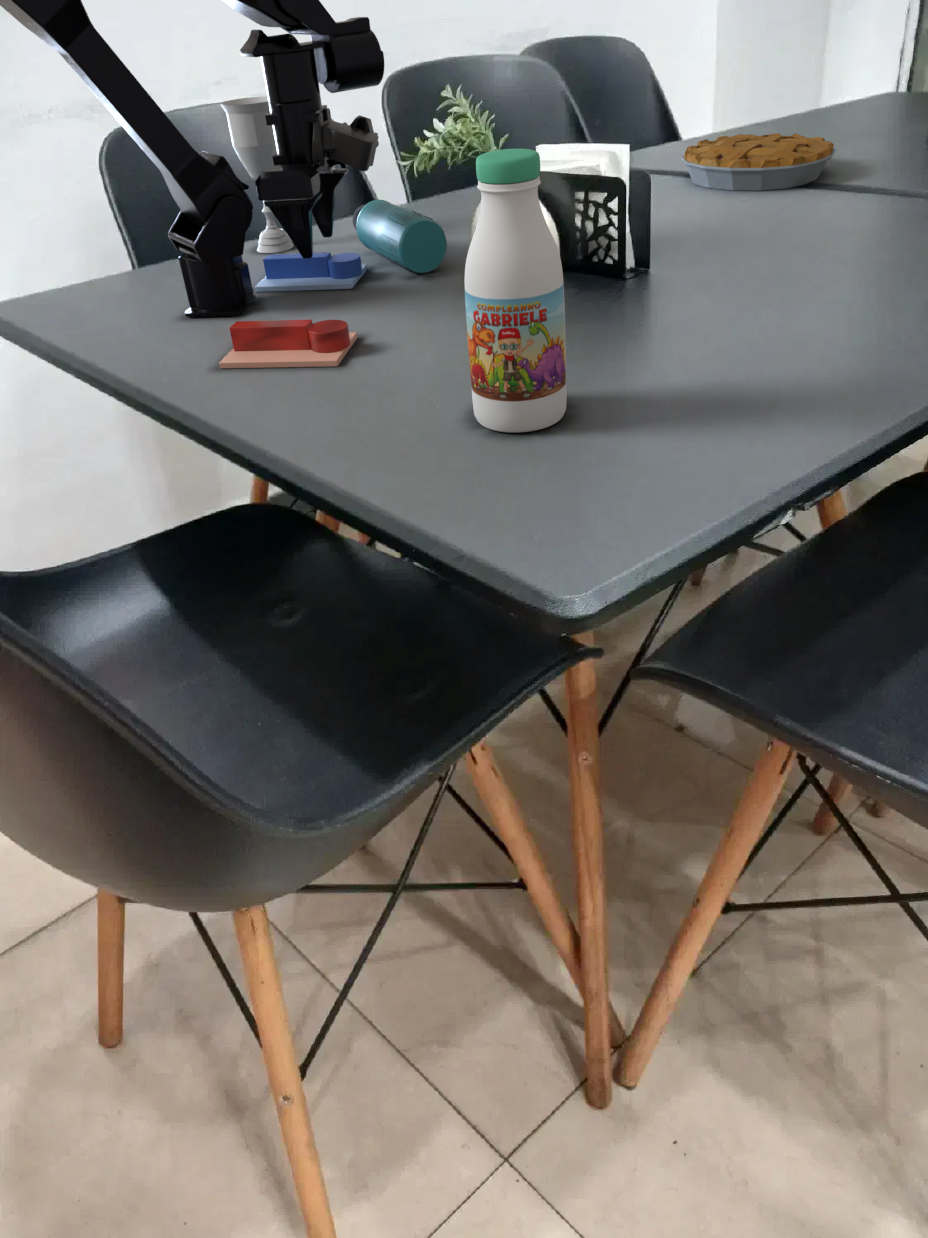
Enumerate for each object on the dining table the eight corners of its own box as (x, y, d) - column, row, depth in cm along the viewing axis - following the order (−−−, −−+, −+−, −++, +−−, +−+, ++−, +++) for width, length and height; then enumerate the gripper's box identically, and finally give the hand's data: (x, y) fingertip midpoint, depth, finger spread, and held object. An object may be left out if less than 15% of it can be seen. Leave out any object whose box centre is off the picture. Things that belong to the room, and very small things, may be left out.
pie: (805, 196, 133) (810, 157, 131) (657, 189, 144) (658, 152, 141) (850, 164, 148) (855, 127, 145) (712, 159, 158) (714, 125, 156)
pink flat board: (220, 368, 96) (218, 362, 95) (247, 340, 102) (246, 334, 102) (337, 366, 94) (336, 360, 93) (357, 337, 100) (356, 331, 100)
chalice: (239, 253, 132) (209, 105, 122) (265, 240, 137) (238, 97, 127) (285, 255, 129) (258, 103, 119) (310, 241, 134) (287, 95, 124)
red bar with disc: (230, 354, 97) (225, 331, 95) (244, 340, 100) (239, 317, 99) (344, 352, 95) (341, 328, 93) (354, 338, 98) (351, 314, 97)
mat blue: (255, 291, 116) (254, 286, 116) (275, 272, 123) (275, 267, 123) (351, 288, 114) (350, 283, 114) (367, 269, 121) (366, 264, 120)
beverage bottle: (430, 207, 111) (365, 180, 126) (392, 252, 112) (332, 220, 127) (464, 247, 116) (397, 216, 131) (428, 290, 116) (365, 254, 131)
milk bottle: (469, 402, 84) (449, 149, 72) (558, 393, 84) (552, 138, 72) (478, 440, 77) (457, 168, 66) (574, 429, 78) (570, 156, 66)
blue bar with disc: (263, 281, 118) (259, 261, 116) (274, 272, 121) (270, 252, 119) (358, 278, 116) (355, 257, 114) (365, 268, 119) (363, 248, 117)
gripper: (346, 107, 98) (367, 266, 107) (383, 82, 113) (399, 223, 122) (240, 115, 99) (270, 271, 108) (291, 89, 114) (313, 228, 123)
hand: (318, 246), depth 115 cm, fingers open, 9 cm apart
